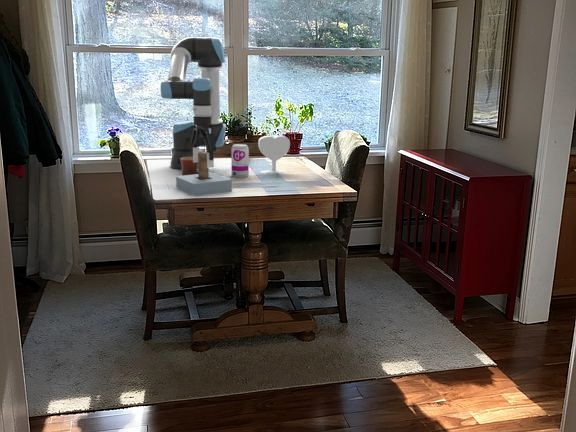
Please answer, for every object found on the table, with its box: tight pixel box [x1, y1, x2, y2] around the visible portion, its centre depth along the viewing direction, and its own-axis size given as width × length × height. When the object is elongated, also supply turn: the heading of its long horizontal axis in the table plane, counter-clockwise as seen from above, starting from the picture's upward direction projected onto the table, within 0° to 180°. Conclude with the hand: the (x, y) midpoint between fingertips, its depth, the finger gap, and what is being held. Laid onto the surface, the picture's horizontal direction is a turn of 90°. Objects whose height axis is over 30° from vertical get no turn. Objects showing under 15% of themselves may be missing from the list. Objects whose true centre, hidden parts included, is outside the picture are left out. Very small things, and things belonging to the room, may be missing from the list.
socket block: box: [175, 172, 233, 197], centre depth 269 cm, size 18×18×5 cm
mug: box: [180, 157, 198, 176], centre depth 285 cm, size 12×9×10 cm
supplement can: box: [230, 143, 250, 178], centre depth 296 cm, size 8×8×15 cm
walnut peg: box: [198, 151, 210, 180], centre depth 267 cm, size 4×4×16 cm
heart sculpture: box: [257, 135, 291, 174], centre depth 307 cm, size 16×5×18 cm, turn 104°
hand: (203, 164), depth 266 cm, fingers open, 13 cm apart
